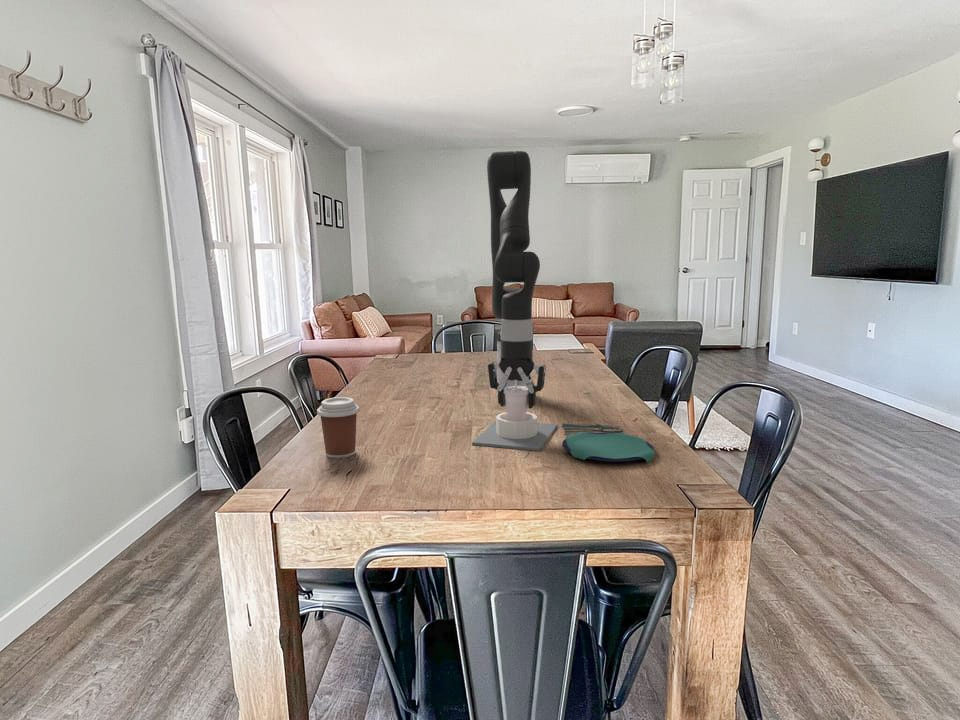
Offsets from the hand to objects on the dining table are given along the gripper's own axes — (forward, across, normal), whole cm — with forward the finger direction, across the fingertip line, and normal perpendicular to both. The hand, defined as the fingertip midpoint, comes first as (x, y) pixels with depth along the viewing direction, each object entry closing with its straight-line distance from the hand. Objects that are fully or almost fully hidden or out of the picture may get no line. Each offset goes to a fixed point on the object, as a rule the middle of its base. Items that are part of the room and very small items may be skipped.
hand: (516, 406), depth 139 cm
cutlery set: (+8, -21, +1) cm, 22 cm away
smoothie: (+5, 0, 0) cm, 5 cm away
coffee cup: (+7, +34, +24) cm, 42 cm away
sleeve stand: (+7, 0, 0) cm, 7 cm away
